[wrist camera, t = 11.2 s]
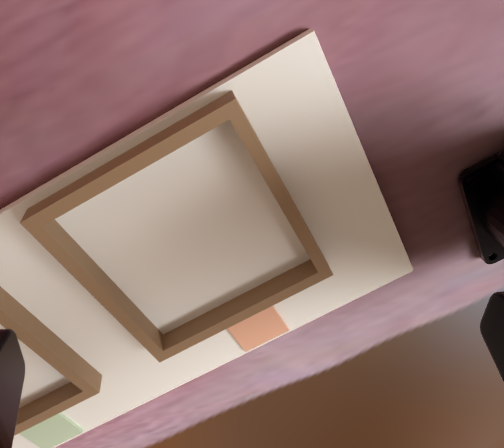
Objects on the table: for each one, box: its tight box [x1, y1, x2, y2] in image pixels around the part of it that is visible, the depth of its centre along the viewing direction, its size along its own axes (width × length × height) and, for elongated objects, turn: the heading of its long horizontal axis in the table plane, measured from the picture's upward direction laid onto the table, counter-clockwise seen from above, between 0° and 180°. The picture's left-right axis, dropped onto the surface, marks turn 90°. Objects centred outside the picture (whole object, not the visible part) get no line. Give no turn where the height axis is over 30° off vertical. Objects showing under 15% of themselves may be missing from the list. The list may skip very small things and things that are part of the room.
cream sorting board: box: [0, 29, 414, 448], centre depth 23 cm, size 14×30×2 cm, turn 118°
